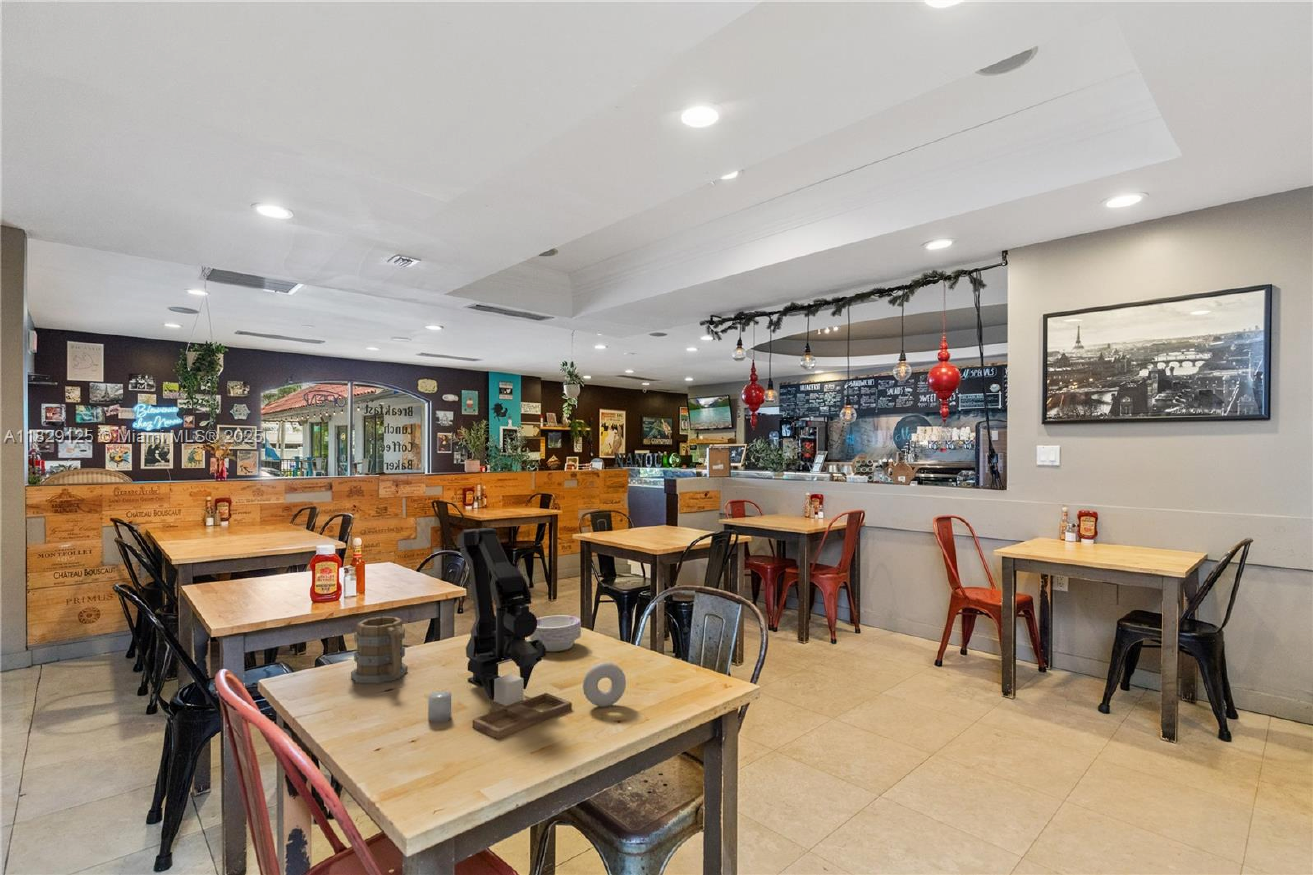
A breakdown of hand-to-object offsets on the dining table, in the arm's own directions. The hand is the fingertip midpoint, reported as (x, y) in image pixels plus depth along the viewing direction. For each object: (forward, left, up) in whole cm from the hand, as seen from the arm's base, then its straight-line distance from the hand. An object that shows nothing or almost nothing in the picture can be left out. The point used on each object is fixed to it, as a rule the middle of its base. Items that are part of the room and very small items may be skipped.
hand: (508, 694), depth 152 cm
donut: (+20, +12, -2) cm, 23 cm away
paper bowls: (-23, +34, -2) cm, 41 cm away
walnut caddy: (+11, -4, -1) cm, 12 cm away
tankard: (-36, -12, -2) cm, 38 cm away
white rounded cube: (0, 0, -1) cm, 1 cm away
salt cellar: (-3, -16, -1) cm, 16 cm away
